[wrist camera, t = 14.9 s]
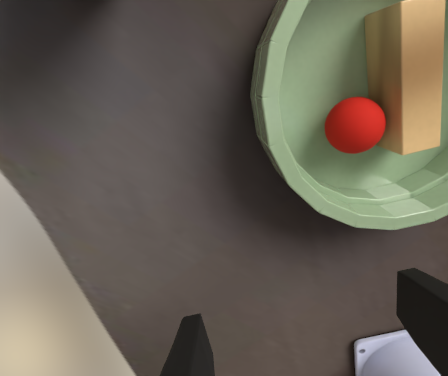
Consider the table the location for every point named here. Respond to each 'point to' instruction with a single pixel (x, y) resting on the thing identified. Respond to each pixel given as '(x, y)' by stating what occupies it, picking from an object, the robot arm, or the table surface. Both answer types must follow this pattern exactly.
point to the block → (407, 72)
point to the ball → (355, 125)
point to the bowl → (319, 109)
